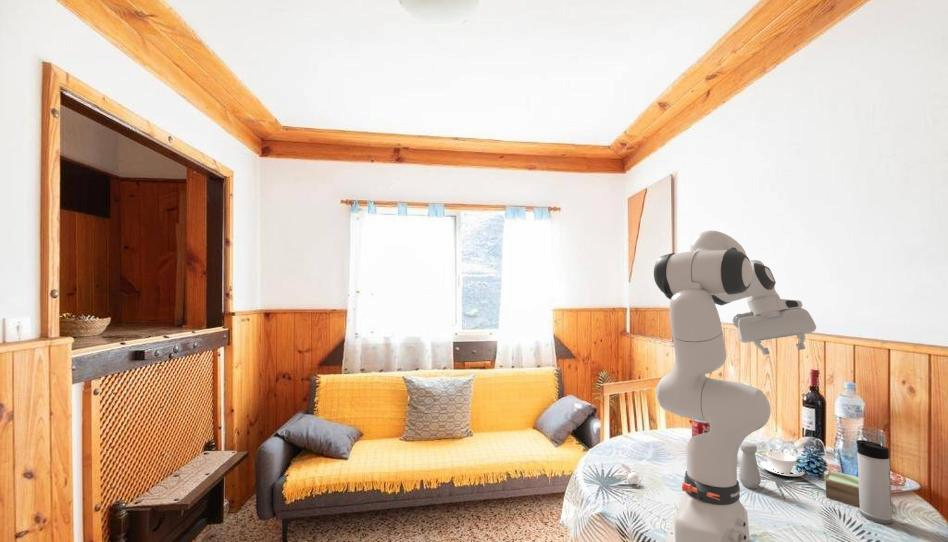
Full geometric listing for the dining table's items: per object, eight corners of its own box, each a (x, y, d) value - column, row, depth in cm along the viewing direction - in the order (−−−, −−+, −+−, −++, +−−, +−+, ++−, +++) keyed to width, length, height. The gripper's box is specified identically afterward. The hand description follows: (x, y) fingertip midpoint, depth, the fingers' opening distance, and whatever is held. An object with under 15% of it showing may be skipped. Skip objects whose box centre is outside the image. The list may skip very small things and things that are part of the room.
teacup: (763, 461, 146) (763, 446, 147) (806, 471, 138) (806, 455, 138) (756, 472, 138) (756, 456, 138) (802, 484, 129) (801, 467, 130)
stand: (868, 509, 115) (867, 489, 115) (826, 497, 121) (825, 479, 121) (870, 497, 121) (869, 479, 121) (829, 486, 127) (829, 469, 127)
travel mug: (852, 510, 114) (849, 437, 115) (878, 512, 113) (875, 438, 114) (871, 523, 108) (868, 446, 108) (899, 525, 107) (895, 447, 108)
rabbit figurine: (637, 490, 126) (613, 472, 131) (634, 495, 129) (611, 477, 133) (645, 475, 129) (622, 458, 134) (642, 480, 132) (619, 463, 136)
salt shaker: (764, 491, 125) (763, 447, 126) (743, 489, 126) (742, 446, 127) (755, 482, 131) (754, 440, 131) (735, 480, 132) (734, 439, 132)
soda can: (716, 452, 154) (715, 419, 155) (710, 457, 150) (709, 424, 150) (696, 447, 160) (695, 415, 160) (689, 452, 155) (688, 420, 155)
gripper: (732, 312, 132) (748, 355, 126) (807, 300, 126) (826, 344, 120) (729, 317, 137) (743, 358, 131) (800, 305, 131) (818, 348, 125)
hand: (784, 351), depth 126 cm, fingers open, 8 cm apart
